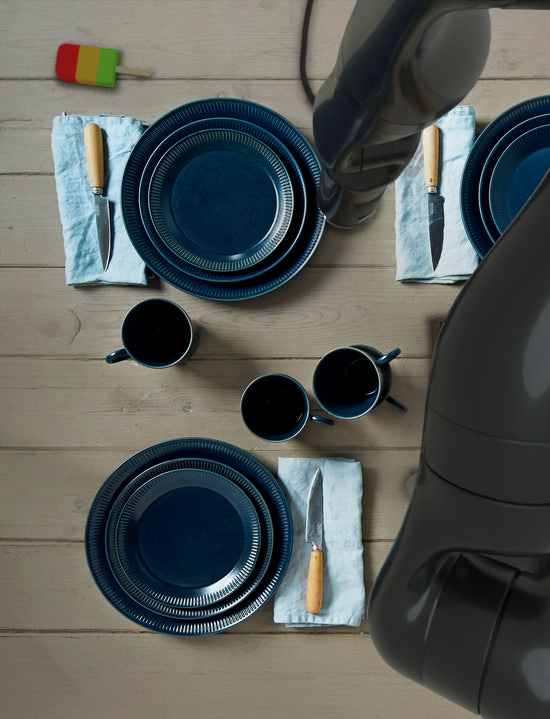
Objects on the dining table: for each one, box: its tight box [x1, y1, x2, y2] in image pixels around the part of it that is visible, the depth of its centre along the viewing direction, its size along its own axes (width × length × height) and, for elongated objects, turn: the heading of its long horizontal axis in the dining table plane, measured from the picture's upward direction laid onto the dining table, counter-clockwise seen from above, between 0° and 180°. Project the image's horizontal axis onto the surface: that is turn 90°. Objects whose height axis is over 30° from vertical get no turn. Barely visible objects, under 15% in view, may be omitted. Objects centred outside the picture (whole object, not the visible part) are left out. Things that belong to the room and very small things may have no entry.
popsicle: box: [54, 42, 153, 89], centre depth 88 cm, size 6×15×2 cm, turn 82°
